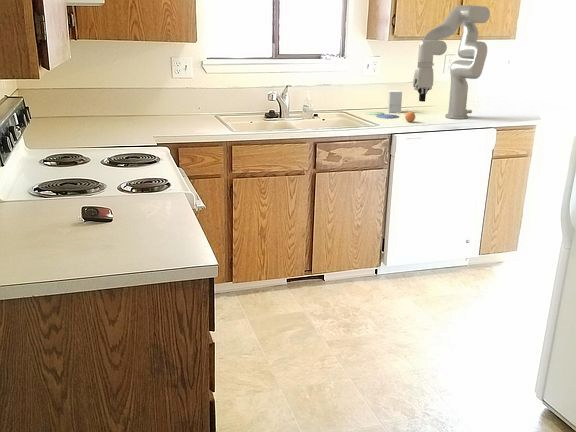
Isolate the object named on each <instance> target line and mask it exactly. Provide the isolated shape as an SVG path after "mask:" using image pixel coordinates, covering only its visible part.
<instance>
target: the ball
mask: <svg viewBox="0 0 576 432" xmlns="http://www.w3.org/2000/svg"><path fill="white" fill-rule="evenodd" d="M404 118H405V120H406V122H409V123H412V122H414V121H415V120H416V114H415V112H414V111H408V112H406V114H405V116H404Z"/></svg>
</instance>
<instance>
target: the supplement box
mask: <svg viewBox="0 0 576 432" xmlns="http://www.w3.org/2000/svg"><path fill="white" fill-rule="evenodd" d="M402 96H403V92H402V90H400V89H399V90H398V89H394V90H393V89H392V90H391V89H390V90H388V103H387V111H388V114H394V113H395V114H398V113H399V114H401V113H402V102H403V101H402V100H403V99H402Z"/></svg>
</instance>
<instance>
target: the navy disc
mask: <svg viewBox="0 0 576 432" xmlns="http://www.w3.org/2000/svg"><path fill="white" fill-rule="evenodd" d="M375 117H376V118H378V119H398V118H399V117H400V115H397V114H396V115H395V114H391V113H387V114H385V113H384V114H382V115H375Z"/></svg>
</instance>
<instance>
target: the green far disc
mask: <svg viewBox="0 0 576 432" xmlns="http://www.w3.org/2000/svg"><path fill="white" fill-rule="evenodd" d="M382 114H385V113H384V112H381V111H369V112H367V115H372V116H377V115H382Z"/></svg>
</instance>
